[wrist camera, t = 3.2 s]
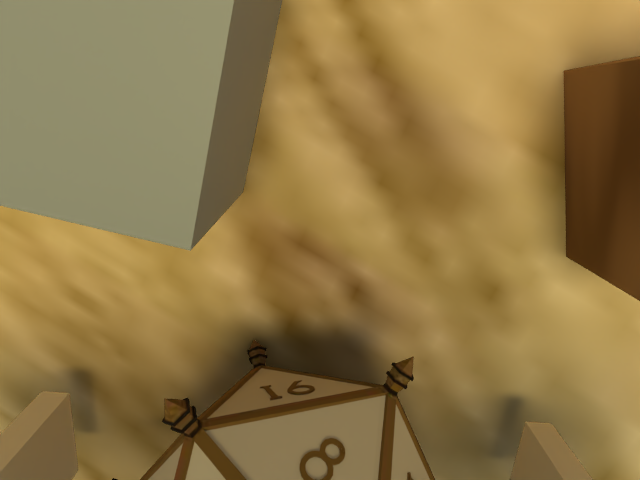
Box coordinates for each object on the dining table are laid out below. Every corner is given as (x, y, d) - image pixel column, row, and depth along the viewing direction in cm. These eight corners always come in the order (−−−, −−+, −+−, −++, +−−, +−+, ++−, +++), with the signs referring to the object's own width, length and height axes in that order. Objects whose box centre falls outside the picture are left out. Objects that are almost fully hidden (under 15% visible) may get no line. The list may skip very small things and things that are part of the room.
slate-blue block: (243, 191, 12) (190, 250, 7) (57, 144, 11) (-137, 173, 6) (284, -10, 10) (253, -112, 5) (72, -71, 10) (-162, -238, 5)
